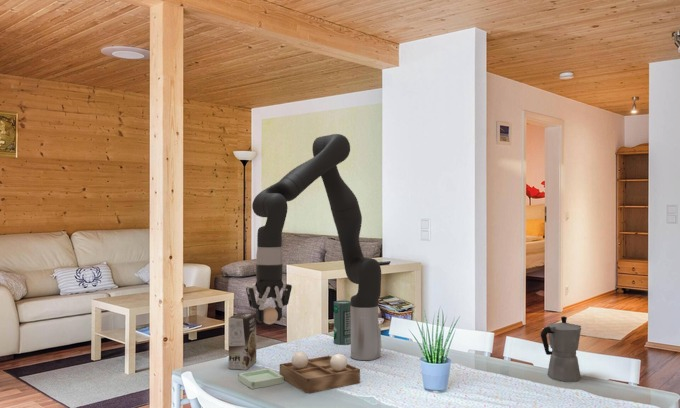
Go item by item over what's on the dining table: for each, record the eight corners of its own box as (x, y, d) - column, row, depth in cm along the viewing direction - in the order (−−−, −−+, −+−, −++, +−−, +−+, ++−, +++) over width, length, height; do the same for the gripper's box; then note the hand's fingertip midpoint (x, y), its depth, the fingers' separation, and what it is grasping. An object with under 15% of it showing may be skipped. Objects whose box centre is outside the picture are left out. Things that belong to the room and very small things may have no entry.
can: (340, 339, 222) (340, 299, 222) (354, 342, 219) (354, 301, 218) (330, 343, 217) (330, 302, 217) (344, 345, 214) (344, 304, 213)
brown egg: (273, 321, 175) (273, 304, 175) (281, 324, 171) (281, 307, 171) (257, 323, 172) (257, 306, 172) (265, 326, 168) (265, 309, 168)
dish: (269, 374, 180) (269, 368, 180) (283, 383, 172) (283, 376, 172) (238, 379, 175) (238, 373, 175) (251, 389, 167) (251, 382, 167)
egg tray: (329, 368, 186) (329, 355, 186) (359, 382, 172) (359, 369, 172) (279, 377, 177) (279, 364, 177) (307, 393, 163) (307, 379, 163)
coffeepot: (567, 370, 183) (567, 311, 183) (592, 378, 175) (592, 317, 175) (529, 377, 177) (529, 316, 176) (553, 386, 168) (553, 322, 168)
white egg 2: (341, 367, 177) (341, 350, 177) (350, 371, 172) (350, 354, 172) (326, 370, 174) (326, 353, 174) (335, 374, 170) (335, 357, 170)
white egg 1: (303, 365, 179) (303, 348, 179) (311, 369, 175) (311, 352, 175) (288, 367, 177) (288, 350, 177) (296, 371, 172) (296, 354, 172)
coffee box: (247, 370, 185) (247, 318, 184) (227, 369, 186) (227, 317, 186) (257, 362, 194) (256, 312, 193) (238, 361, 195) (238, 311, 195)
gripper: (285, 260, 179) (284, 316, 179) (241, 262, 171) (240, 321, 171) (297, 262, 172) (297, 321, 172) (252, 265, 164) (251, 326, 165)
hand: (269, 321), depth 172 cm, fingers closed on brown egg, 5 cm apart
